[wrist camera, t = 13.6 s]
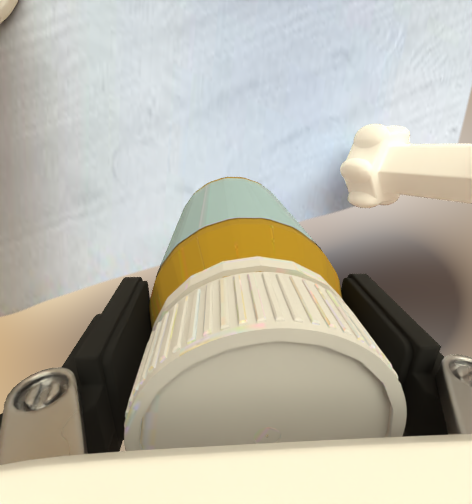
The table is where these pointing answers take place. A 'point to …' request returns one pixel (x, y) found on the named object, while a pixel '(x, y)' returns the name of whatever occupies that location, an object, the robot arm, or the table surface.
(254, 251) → the bottle
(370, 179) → the white bone
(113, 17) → the table surface
